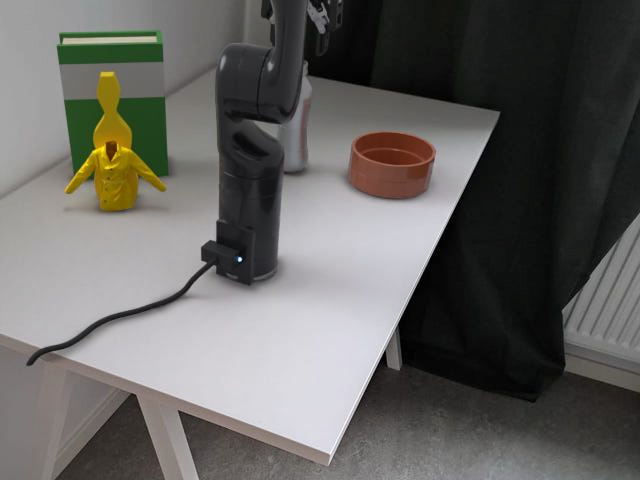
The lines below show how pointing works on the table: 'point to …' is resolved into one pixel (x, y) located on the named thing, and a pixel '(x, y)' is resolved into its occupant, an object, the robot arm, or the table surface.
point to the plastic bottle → (297, 130)
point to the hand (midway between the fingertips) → (298, 50)
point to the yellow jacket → (113, 155)
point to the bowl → (391, 164)
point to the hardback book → (135, 97)
